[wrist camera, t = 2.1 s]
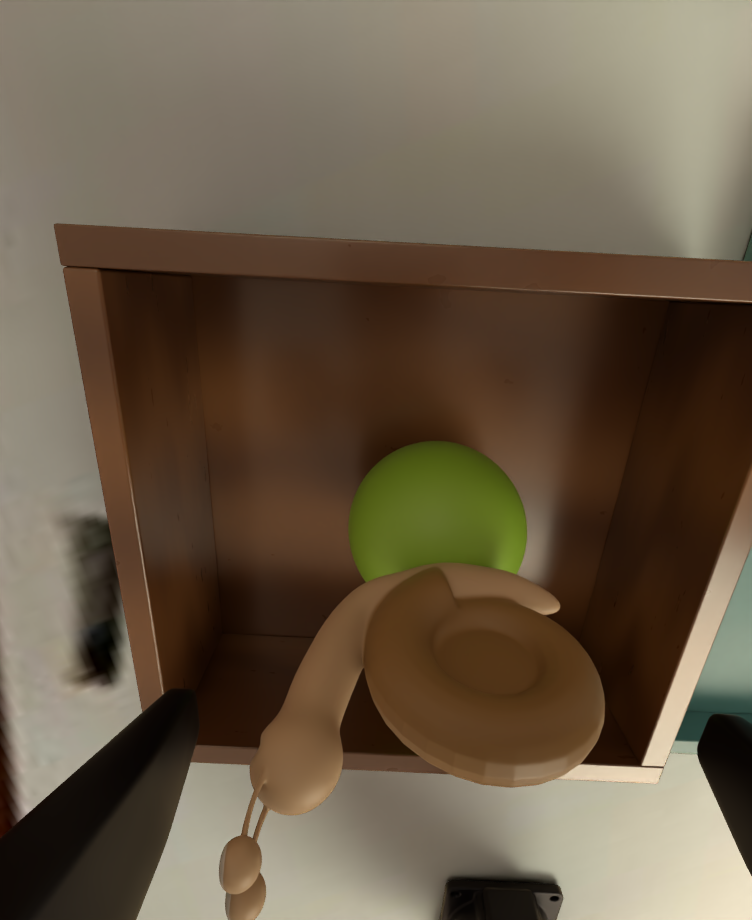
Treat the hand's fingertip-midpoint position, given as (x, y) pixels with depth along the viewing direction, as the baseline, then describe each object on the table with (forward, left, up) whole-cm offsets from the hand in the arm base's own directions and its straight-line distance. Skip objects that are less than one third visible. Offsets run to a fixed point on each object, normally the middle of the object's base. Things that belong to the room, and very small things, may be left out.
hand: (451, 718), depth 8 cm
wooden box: (0, 0, -10) cm, 10 cm away
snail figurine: (0, 0, -10) cm, 10 cm away
